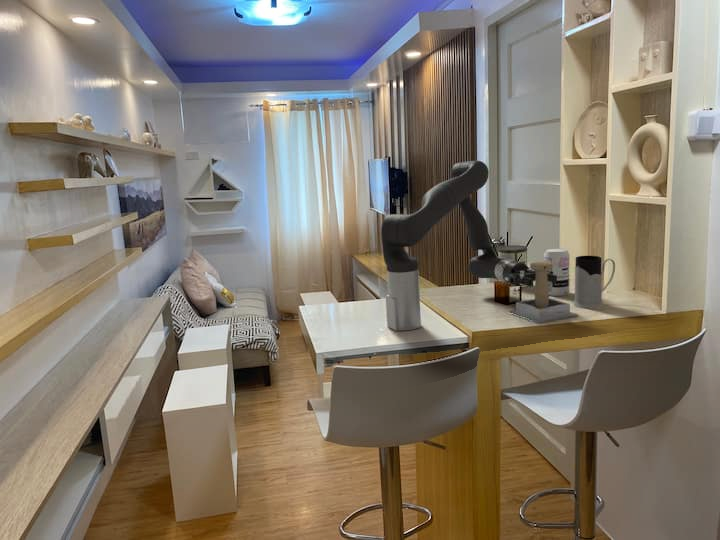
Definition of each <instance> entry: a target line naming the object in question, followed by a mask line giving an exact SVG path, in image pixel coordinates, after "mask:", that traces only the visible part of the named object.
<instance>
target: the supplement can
mask: <svg viewBox="0 0 720 540" xmlns="http://www.w3.org/2000/svg"><path fill="white" fill-rule="evenodd" d="M543 262H551V263H552V268H551V269H549V271H553V275H556V276H557V282H555V283H553V282H550V281H548V291H549V293H548V294H549V296H550V297H563V296H566V295H568V294H569V293H570V265H571V264H570V253H569V251H568V249H566V248H548V249H545V252H544V253H543Z"/></svg>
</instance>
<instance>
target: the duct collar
mask: <svg viewBox="0 0 720 540" xmlns="http://www.w3.org/2000/svg"><path fill="white" fill-rule="evenodd" d="M515 307H516V309H513V310H509V311H508V313H509V312H510V313H513V314H516V315H519V316H522V317H525V318H527V319H529V320H532V321H534V322H533V323H535V322H536V323H535V324H537V323H538V325H540V324H544V323H550V322H555V321H559V320H566V319H570V318H575V317H578V313H576V312H575V313H574V312H572V311H571V304H570V303H567V302H564V301H561V300H558V299H554V298H551V297H549V302H548V307H545V308H537V307H536V303H535V298H531V299H526V300H525V299H524V300H520V301H516V302H515ZM510 313H509V314H510ZM513 314H512V315H513ZM516 315H515V316H516ZM519 316H518V317H519ZM527 319H526V320H527ZM529 320H528V321H529ZM532 321H531V322H532ZM539 323H540V324H539Z"/></svg>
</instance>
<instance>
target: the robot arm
mask: <svg viewBox="0 0 720 540" xmlns="http://www.w3.org/2000/svg"><path fill="white" fill-rule="evenodd" d="M489 175H490V174H489V168H488V166H487V165H486V163H485V162H483V161H481V160H469V161H462V162H457V163H455V164H453V167H452V168H451V173H450V176H451V178H449V179H448V180H444V181H442V182H439V183H438V184H436V185H434V186H433V187H432V188H430V189H429V190H428V191H427V192H426V193H424V195H423V197H422V199H421V203H420V205H421V206H420V207H421V208H420V209H419V210H418V211H416V212H414V213H410V214H407V213H406V214H403V213H401V214H398V213H397V214H396V213H395V214H394V213H393V214H392V213H391V214H387V215H386V216H385V217H384V218H383V219H382V223H381V229H380V232H381V233H380V235H381V244H382V245H381V246H382V255H383V260H384V264H385V266H386V277H387V282H386V283H387V295H385V306H386V307H385V308H386V323H387V324H386V326H387V327H388V328H390V329H391V330H394V331H395V332H398V331H413V330H417V329H419V328H421V327H422V318H421V299H420V298H421V295H420V275H419V274H420V273H419V272H420V271H419V260H418V259H417V258H416V257H414V256H412V255H410V254H409V253H408V251H406V250H405V248H412V247H414V246H416V245H418V244H419V243H420V242H421V241H422V240H423V239H424V238H425V237H426V235H428V233H429V232H430V231H431V230H432V229H433V228H434V227H435V226H436V225H437V223H439V222H441V220H442V219H443V218H445V217H446V216H448V214H450V213H451V212H452V211H453V210H454V209H455V208H456V207H457V206H459V208H460V210H461V214H462V216H463V219H464V223H465V228H466V233H467V238H468V244H469V247H470V249H472V250H474V251H482V254H480V255H477V256H474V257H472V258H470V259H469V261H468V264H467V269H468V271H469V273H470V274H471V275H472V276H473V277H475V278H478V279H495V280H497V281H499V280H501V281H502V282H505V283H508V284H511V285H515V286H522V285H527V286H526V287H534V283H535V279H536V273H535V271H534V270H532V269H531V268H530V267H528V264H527V265H526V264H524V263H521V262H516V261H512V260H505V259H500V258H499V257H498V256H497V254H496V252H495V249H494V248H493V244H492V243H491V240H490V234H489V232H490V231H489V228H488V223H487V221H486V219H485V217H484V216H483V214H482V213H481V212H480V210H479V209H478V208H477V206H476V204H475V203H474V202H473V199H472V198H471V195H472V194H474V193H475V192H477V191H479V190H480V189H482V188H483V187H484V186H485V185H486V183H487V181H488V179H489ZM498 258H499V259H500V261H499V259H498ZM500 262H501V263H500ZM502 265H503V267H504V268H505V270H504V268H503V267H502ZM547 278H548V281H550V282H553V283H555V282H557V276H556V275H553V271H549V270H548V271H547Z"/></svg>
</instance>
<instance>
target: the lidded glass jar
mask: <svg viewBox="0 0 720 540" xmlns="http://www.w3.org/2000/svg"><path fill="white" fill-rule="evenodd" d="M524 249H525V250H524ZM497 251H498V258H500V259H505V260H512V261H516V262H517V261H518V259H519V257H520V256H521V254H522V256H521V257H520V259H519V261H518V262H521V263H524V264H526V265H527V266H528V246H525V245H518V244H517V245H503V246H499V247H498V248H497ZM523 251H524V252H523ZM499 281H501V280H498V282H499ZM526 287H528V286H527V285H522V288H526ZM522 288H521V289H522Z"/></svg>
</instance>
